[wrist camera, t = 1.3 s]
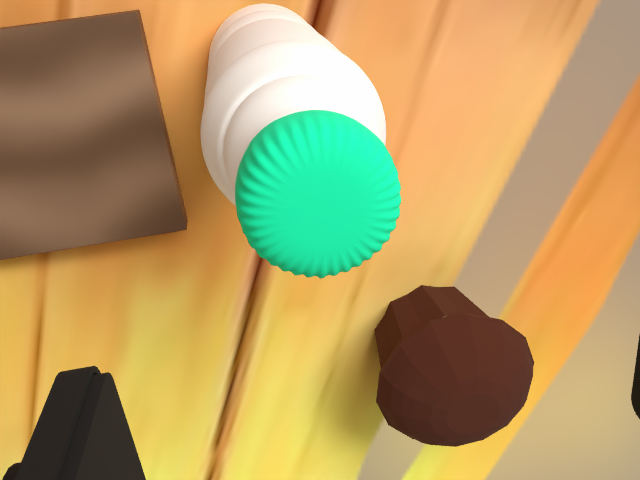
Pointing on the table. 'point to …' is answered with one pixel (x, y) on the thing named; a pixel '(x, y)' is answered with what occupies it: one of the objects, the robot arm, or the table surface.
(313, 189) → the water bottle
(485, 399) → the muffin
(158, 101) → the walnut board
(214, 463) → the table surface
